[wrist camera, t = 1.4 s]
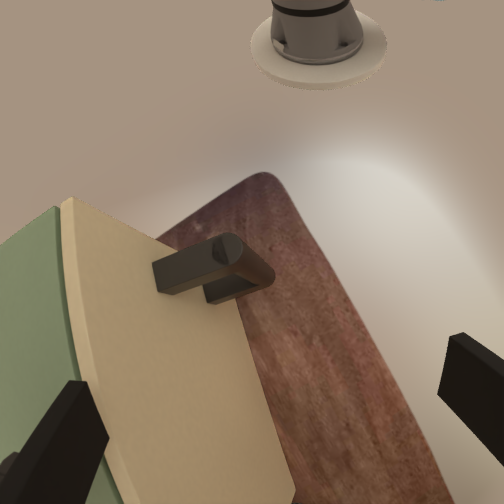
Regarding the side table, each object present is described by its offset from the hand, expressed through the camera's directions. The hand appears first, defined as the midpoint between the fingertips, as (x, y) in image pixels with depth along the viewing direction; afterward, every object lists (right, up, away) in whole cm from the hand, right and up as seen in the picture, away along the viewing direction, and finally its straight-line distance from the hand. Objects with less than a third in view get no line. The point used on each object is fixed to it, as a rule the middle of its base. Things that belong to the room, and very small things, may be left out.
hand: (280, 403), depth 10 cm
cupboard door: (+3, -9, +22) cm, 24 cm away
